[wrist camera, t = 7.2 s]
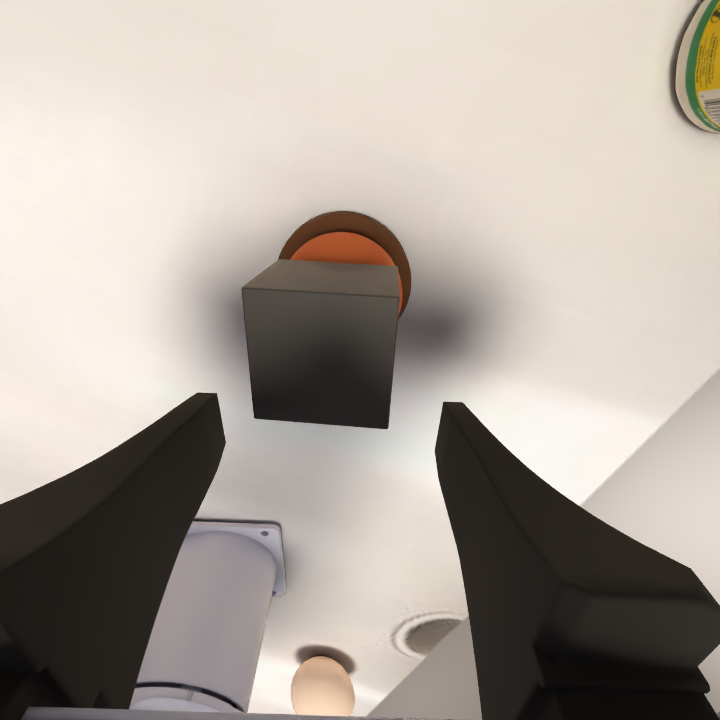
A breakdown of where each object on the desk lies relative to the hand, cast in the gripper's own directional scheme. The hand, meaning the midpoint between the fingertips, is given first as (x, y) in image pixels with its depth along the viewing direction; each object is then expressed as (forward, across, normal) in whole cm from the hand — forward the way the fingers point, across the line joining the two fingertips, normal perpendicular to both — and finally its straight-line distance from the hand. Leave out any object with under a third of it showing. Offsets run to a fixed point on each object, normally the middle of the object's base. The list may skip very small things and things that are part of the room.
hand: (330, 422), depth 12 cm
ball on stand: (+7, 0, -2) cm, 8 cm away
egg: (+5, +3, +31) cm, 32 cm away
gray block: (+3, 0, -2) cm, 4 cm away
